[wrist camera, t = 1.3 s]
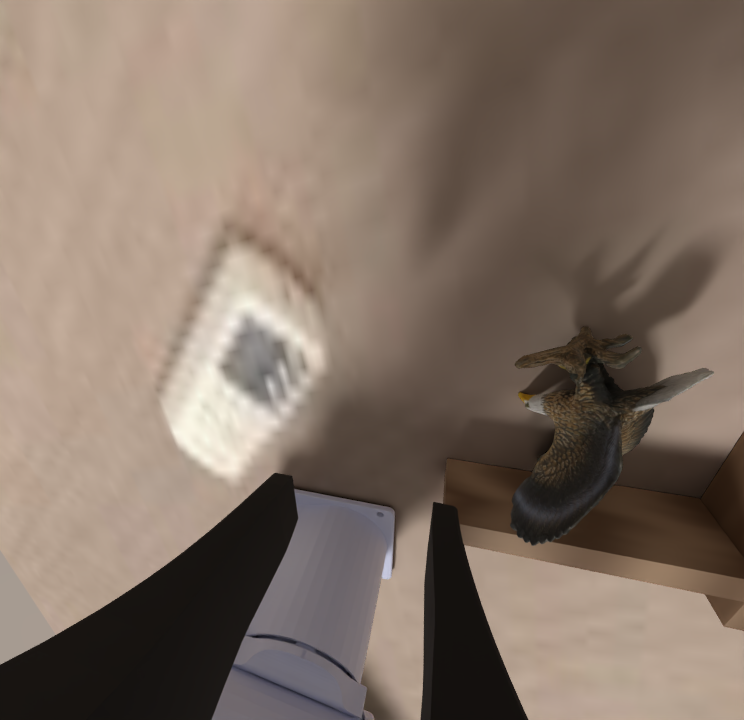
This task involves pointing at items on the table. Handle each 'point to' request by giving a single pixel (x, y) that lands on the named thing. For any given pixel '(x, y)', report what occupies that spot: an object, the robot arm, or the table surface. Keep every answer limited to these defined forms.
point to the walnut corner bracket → (624, 531)
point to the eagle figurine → (585, 433)
